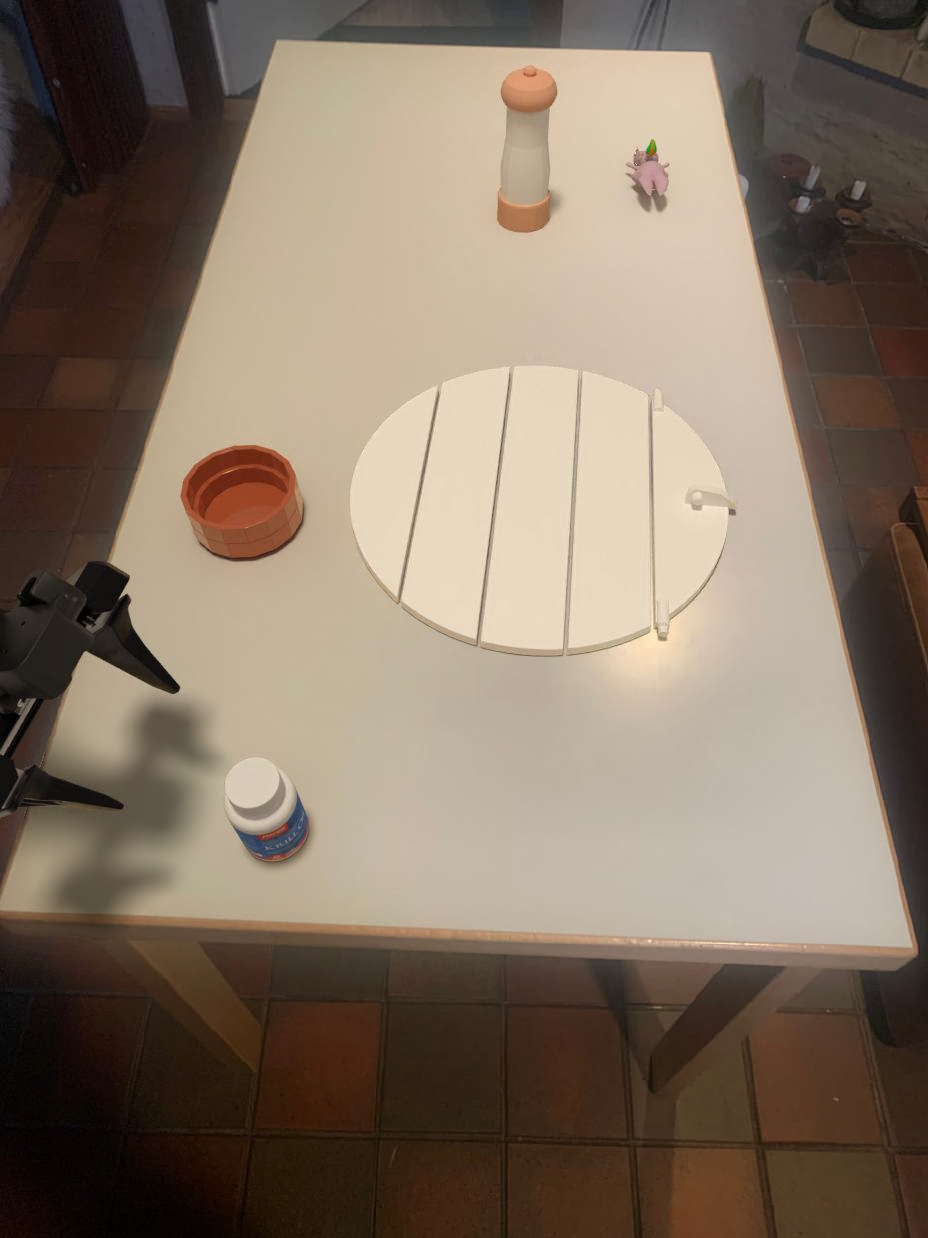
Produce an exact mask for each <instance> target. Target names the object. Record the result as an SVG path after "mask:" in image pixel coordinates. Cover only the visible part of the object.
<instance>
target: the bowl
mask: <svg viewBox="0 0 928 1238" xmlns="http://www.w3.org/2000/svg"><path fill="white" fill-rule="evenodd" d="M179 498H180V500H181V502H182V506H183V509H184V511H185V513H186V516H187V518H188V520H189V523H190V525H191V528H192V529H193V532H194V535H195V537H196V539H197V540H198V542H200V543H201V545H203V546H204V547H205V548H207V549H208V550H209V551H210V552H212V553H215V554H217V555H221V556H224V557H227V558H233V559H235V558H254V557H257V556H260V555H263V554H266V553H269V552H272V551H275V550H276V549H278V548H279V547H280V546H282V545H283V544H285V543H286V542H287V541H288V540H290V539H291V538H292V537H293V535H294V534H295V533H296V531H297V529H298V528H299V525H301V522H302V521H303V510H304V503H303V498H302V494H301V490H300V487H299V483H298V478H297V475H296V473H295V470H294V469H293V466H292V465H291V462H290V461H289V459H287V458H286V457H284V456H283V455H282V454H280V453H279V452H278V451H277V450H275V449H272V448H268V447H264V446H261V445H256V444H244V445H231V446H228V447H226V448H222V449H218V450H216V451H213V452H210V454H208V455H207V456H205V457H204V458H202V459H201V460H199V461H197V462H196V463H195V464H194V465H193V466H192V468H190V470H189V471H188V473H187V474H186V476H185V477H184V478H183V481H182V486H181V490H180V495H179Z"/></svg>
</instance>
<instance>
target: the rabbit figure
mask: <svg viewBox="0 0 928 1238" xmlns="http://www.w3.org/2000/svg"><path fill="white" fill-rule="evenodd" d="M635 152H636V154H635V153H634V154H633V156H632V158H633V164H632V163H631V162H629V161H628V162H626V163H625V166H626V167H628V168H631V169H633V170H635V171H634V172H633V173H632V174H631V180H632V181H633V183H635V184H636V185H637V187H639V188H641V189H642V188H643V189H642V190H644V192H645V193H646V195H647V196H648V197H651V196H652V194H653V191H656V192H657V194H658V196H659V197H662V196H663V195H664V193H665V192H666V191H667V188H668V187H669V183H670V181H669V174H668V173H667V172H666V170H665V169H666V168H668V167H670V163H669V162H665V163H664V164H661V163H660V162H659V154H658V153H657V152H658V148H657V144H656V140H655V139H653V138H652V139H651V140H650V141H649V144H648V145H647V147H646V149H645V150H640V149H639V148H638V146H636V149H635ZM635 163H636V164H637V165H636V164H635ZM653 189H655V190H653Z"/></svg>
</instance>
